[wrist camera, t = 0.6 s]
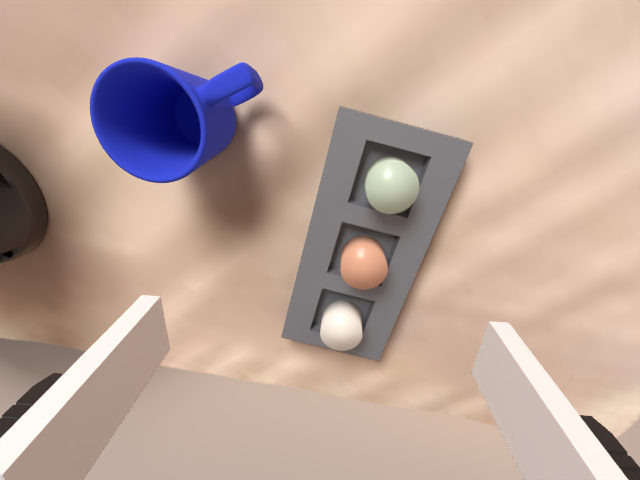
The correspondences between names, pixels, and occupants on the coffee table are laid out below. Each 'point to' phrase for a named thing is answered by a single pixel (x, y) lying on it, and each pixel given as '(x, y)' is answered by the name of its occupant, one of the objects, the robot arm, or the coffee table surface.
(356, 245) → the button terracotta
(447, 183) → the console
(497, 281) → the coffee table surface
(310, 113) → the coffee table surface
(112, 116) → the mug
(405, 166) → the button sage
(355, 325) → the button ivory
